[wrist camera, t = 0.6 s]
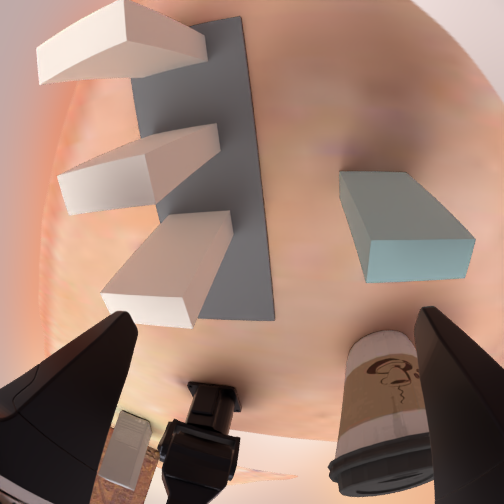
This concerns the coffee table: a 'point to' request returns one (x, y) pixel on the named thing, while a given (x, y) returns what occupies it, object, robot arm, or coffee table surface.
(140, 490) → the book
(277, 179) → the coffee table surface
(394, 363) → the coffee cup
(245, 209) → the mat
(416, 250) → the teal domino
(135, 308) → the ivory domino
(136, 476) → the skincare box
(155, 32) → the ivory end domino
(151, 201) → the ivory domino
